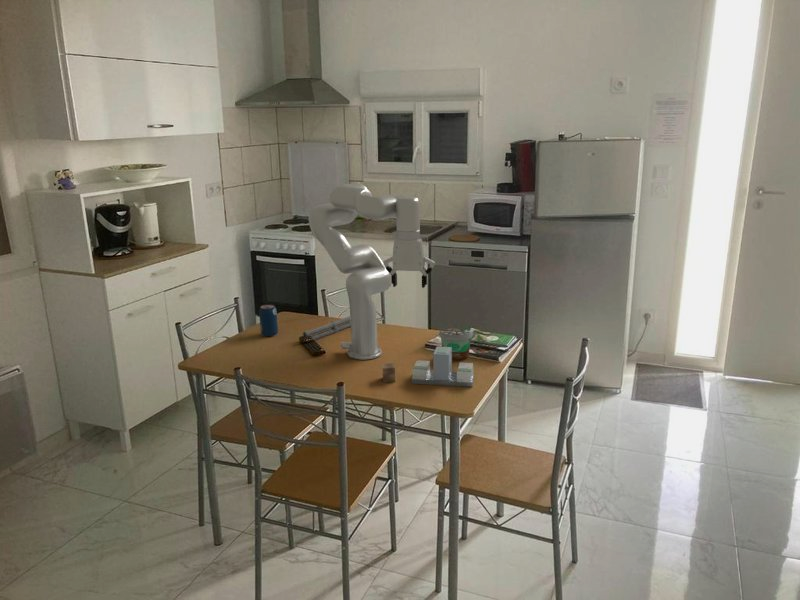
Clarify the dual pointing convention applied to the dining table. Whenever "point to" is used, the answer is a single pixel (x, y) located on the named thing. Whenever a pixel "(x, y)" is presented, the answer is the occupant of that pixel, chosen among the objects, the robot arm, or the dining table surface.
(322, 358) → the dining table surface
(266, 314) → the soda can
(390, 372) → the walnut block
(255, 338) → the dining table surface
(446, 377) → the grey-blue module block
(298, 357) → the dining table surface
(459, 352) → the food container
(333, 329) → the metal rod assembly
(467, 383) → the rail
